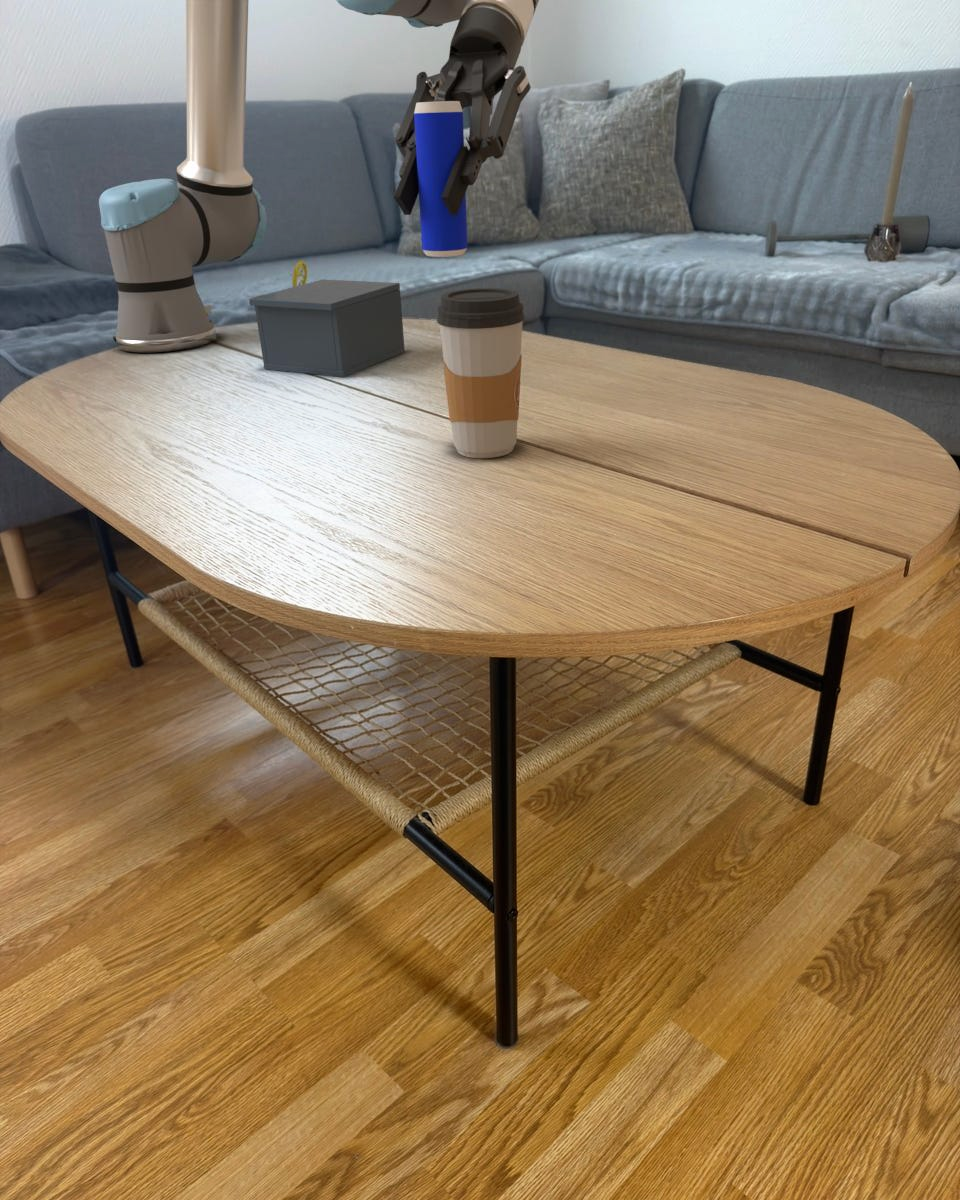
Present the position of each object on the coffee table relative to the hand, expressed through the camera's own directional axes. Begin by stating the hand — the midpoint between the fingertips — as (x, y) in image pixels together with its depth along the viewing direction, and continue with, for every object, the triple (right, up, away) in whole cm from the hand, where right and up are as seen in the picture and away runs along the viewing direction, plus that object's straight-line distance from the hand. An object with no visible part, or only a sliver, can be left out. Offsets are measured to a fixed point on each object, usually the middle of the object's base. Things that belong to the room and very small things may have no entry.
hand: (425, 206), depth 93 cm
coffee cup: (+6, -27, -5) cm, 28 cm away
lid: (-15, 0, +27) cm, 31 cm away
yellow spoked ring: (-26, +2, +52) cm, 58 cm away
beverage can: (+2, -3, +5) cm, 7 cm away
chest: (-15, -8, +32) cm, 36 cm away
